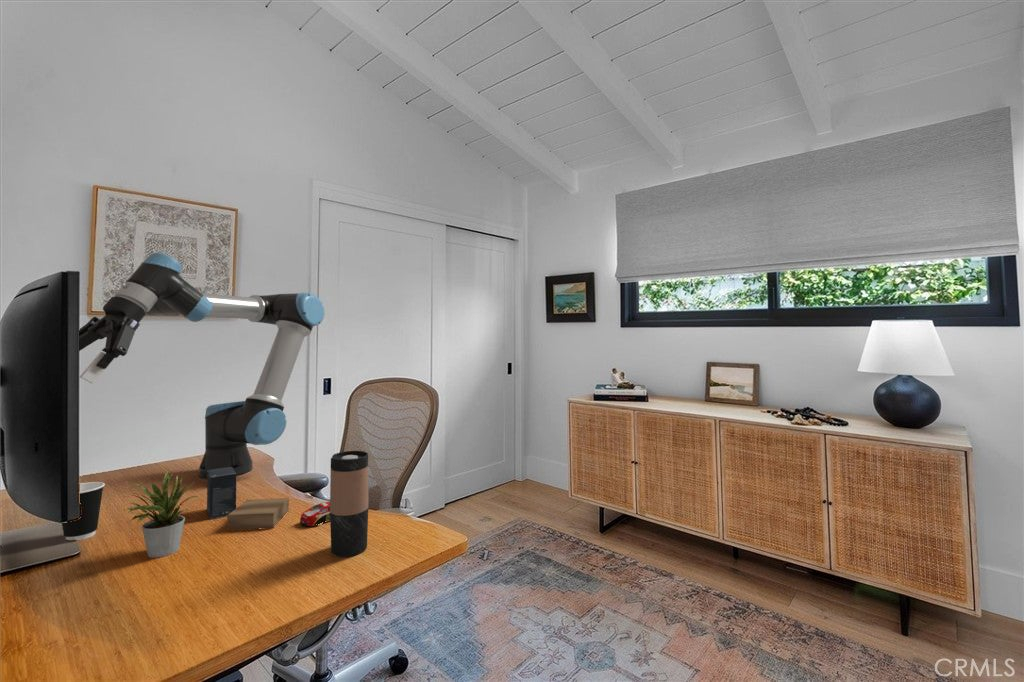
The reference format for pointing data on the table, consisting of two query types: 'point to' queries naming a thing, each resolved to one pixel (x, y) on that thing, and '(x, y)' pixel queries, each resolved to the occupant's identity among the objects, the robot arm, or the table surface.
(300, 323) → the robot arm
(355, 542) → the travel mug
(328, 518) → the race car
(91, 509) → the dixie cup
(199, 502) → the table surface
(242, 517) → the walnut pedestal
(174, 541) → the house plant
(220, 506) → the box
